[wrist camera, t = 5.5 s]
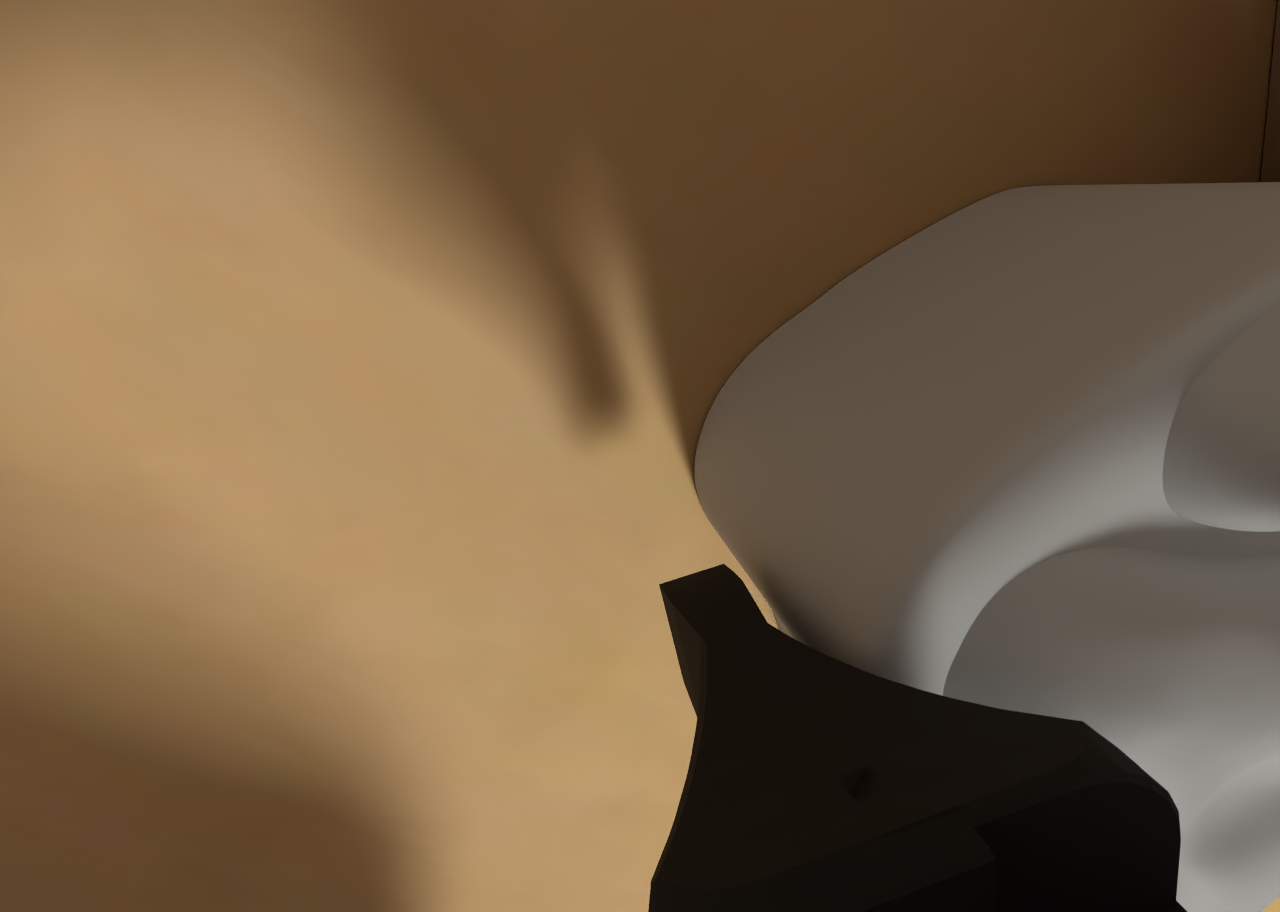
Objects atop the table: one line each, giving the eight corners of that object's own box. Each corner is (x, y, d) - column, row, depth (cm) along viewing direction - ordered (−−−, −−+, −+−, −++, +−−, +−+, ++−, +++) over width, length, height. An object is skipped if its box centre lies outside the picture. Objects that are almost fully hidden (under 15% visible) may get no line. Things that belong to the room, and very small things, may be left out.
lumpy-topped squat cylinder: (639, 404, 14) (848, 672, 6) (1202, 55, 14) (2119, -119, 6) (840, 739, 18) (1121, 1159, 10) (1278, 466, 18) (1893, 675, 10)
